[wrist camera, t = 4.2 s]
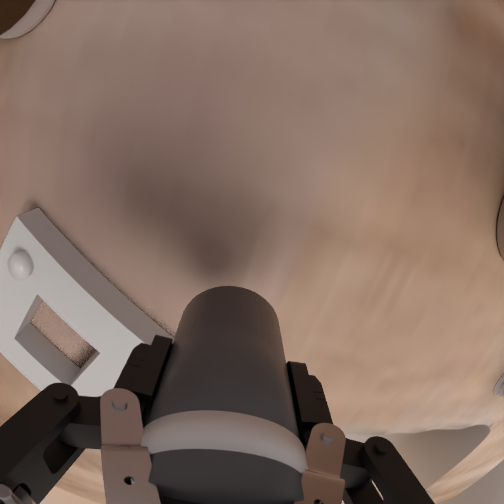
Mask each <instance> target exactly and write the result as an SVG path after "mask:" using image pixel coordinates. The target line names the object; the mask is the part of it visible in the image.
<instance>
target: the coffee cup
mask: <svg viewBox="0 0 504 504" xmlns="http://www.w3.org/2000/svg"><path fill="white" fill-rule="evenodd" d="M54 1H55V0H0V38H2V39H9V38H16V37H19V36H22V35H24V34H26V33H28V32H29V31H31V30H32V29H34V28H35V27H36V26H37V25H38V24H39V23H40V22H41V21H42V20H43V19H44V17H45V16H46V15H47V14H48V12H49V11H50V10H51V8H52V5H53V3H54Z"/></svg>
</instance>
